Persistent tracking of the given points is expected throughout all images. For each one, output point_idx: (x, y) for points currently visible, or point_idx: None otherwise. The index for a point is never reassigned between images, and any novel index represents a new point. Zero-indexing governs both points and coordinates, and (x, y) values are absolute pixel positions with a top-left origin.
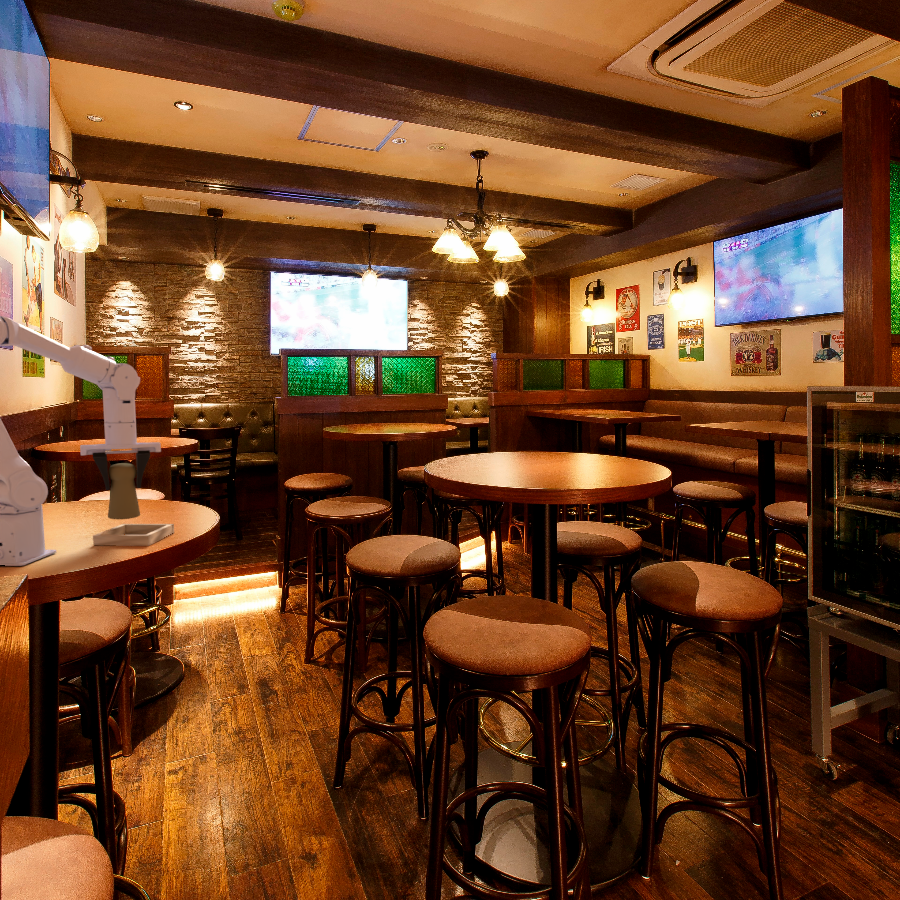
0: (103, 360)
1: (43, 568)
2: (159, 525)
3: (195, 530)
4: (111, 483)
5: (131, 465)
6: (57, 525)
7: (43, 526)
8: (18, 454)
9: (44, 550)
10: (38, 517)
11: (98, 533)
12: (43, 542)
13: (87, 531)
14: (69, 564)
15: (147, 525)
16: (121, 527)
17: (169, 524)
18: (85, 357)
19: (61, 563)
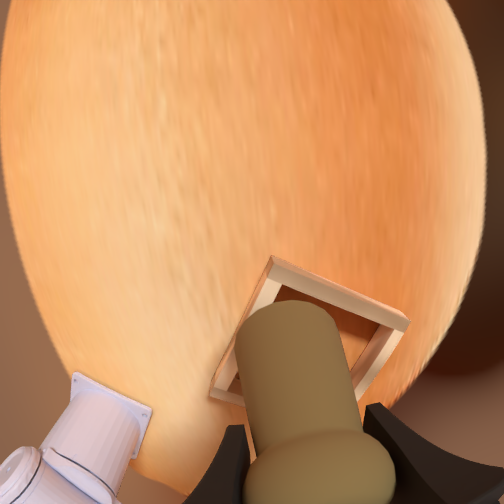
0: None
1: (171, 472)
2: (377, 321)
3: (442, 293)
4: (255, 450)
5: None
6: (76, 67)
7: (122, 459)
8: None
9: (138, 429)
10: (119, 488)
11: (218, 378)
12: (134, 442)
13: (157, 181)
14: (203, 470)
15: (347, 310)
16: (271, 303)
17: (400, 326)
18: None
19: (188, 463)
